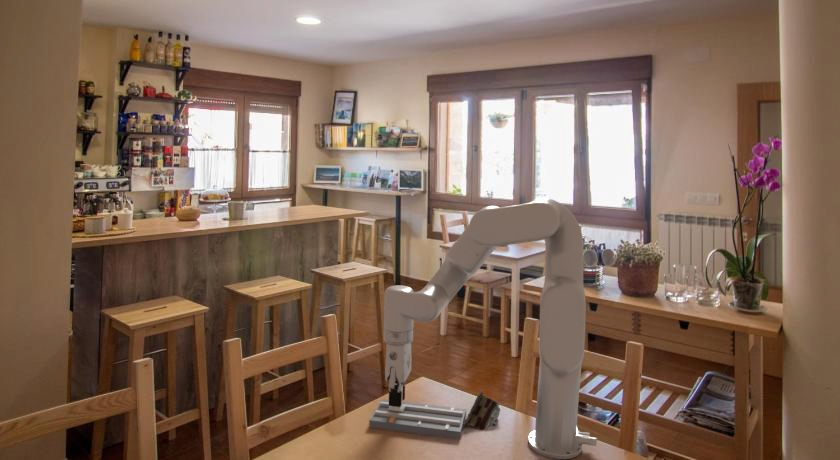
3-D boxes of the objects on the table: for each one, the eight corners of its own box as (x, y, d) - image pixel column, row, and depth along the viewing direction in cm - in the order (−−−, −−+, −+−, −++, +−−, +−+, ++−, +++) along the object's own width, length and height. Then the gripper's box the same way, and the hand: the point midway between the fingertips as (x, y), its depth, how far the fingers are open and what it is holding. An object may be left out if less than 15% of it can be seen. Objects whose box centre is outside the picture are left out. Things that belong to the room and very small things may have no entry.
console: (465, 416, 142) (466, 406, 142) (460, 439, 131) (460, 428, 130) (381, 406, 147) (382, 396, 146) (369, 427, 135) (369, 417, 135)
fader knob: (405, 408, 141) (406, 384, 140) (402, 414, 138) (403, 389, 137) (390, 406, 141) (391, 382, 140) (387, 412, 139) (388, 387, 138)
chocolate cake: (488, 438, 133) (507, 395, 138) (462, 425, 135) (482, 382, 141) (486, 446, 141) (504, 405, 146) (462, 434, 143) (480, 393, 149)
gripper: (405, 347, 128) (403, 419, 131) (419, 325, 144) (417, 390, 147) (375, 344, 129) (374, 415, 132) (392, 323, 145) (390, 387, 148)
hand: (396, 401), depth 139 cm, fingers closed on fader knob, 3 cm apart
